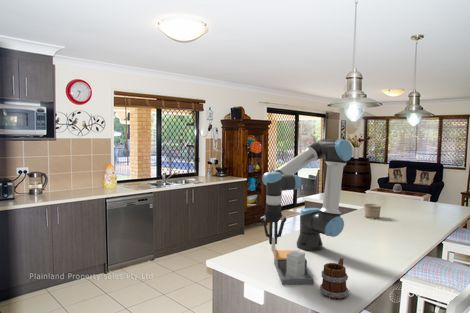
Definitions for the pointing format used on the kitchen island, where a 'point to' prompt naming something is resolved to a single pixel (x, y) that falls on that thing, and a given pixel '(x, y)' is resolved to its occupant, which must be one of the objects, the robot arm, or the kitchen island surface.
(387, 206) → the kitchen island surface
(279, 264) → the housing
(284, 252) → the lid
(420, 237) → the kitchen island surface
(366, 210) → the planter
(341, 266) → the mug
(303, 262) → the small box
